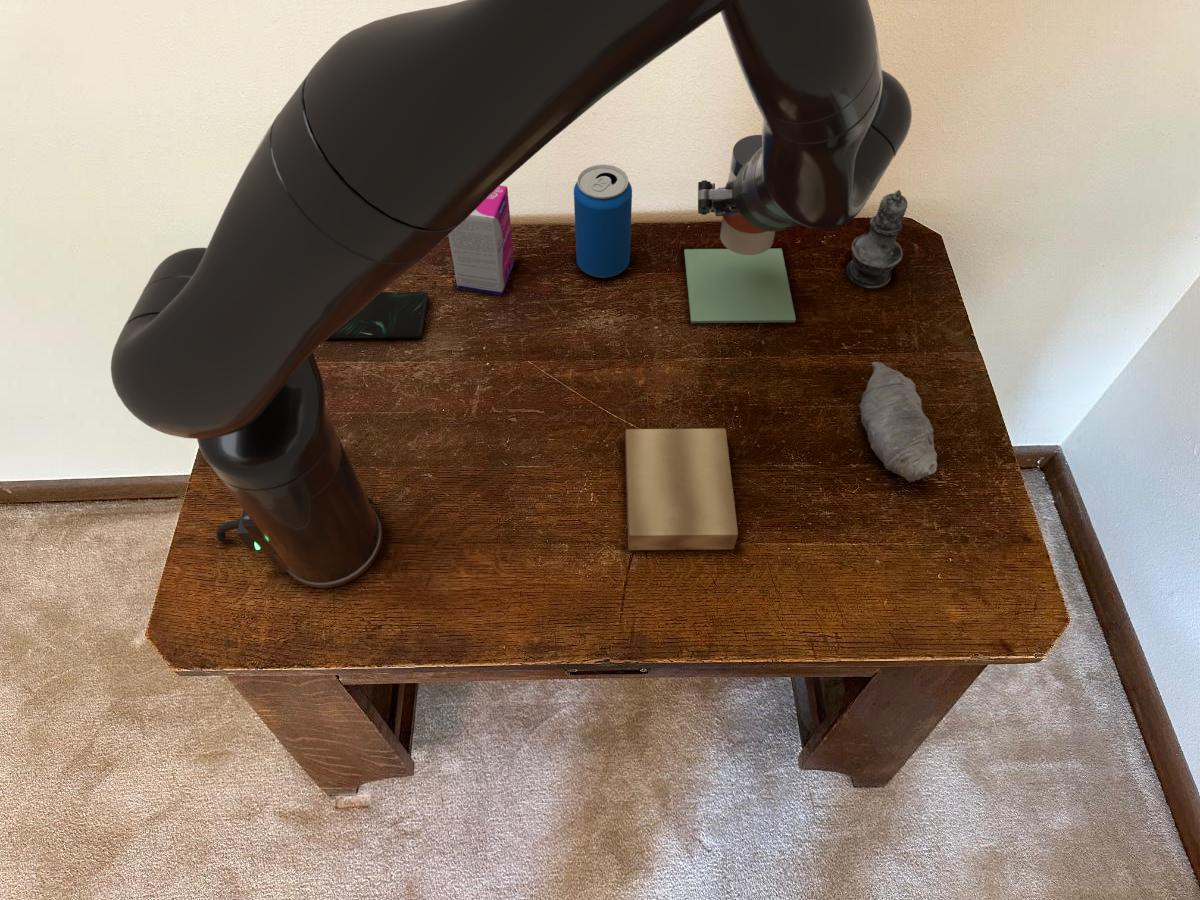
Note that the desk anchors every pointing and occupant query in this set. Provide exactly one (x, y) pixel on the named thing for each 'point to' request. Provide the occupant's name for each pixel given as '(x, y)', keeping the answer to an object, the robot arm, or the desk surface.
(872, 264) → the grey tiered tall piece
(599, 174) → the beverage can
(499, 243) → the supplement box
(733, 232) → the jar
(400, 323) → the smartphone
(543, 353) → the desk surface
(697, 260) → the mat
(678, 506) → the stand
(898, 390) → the grey oval lump
